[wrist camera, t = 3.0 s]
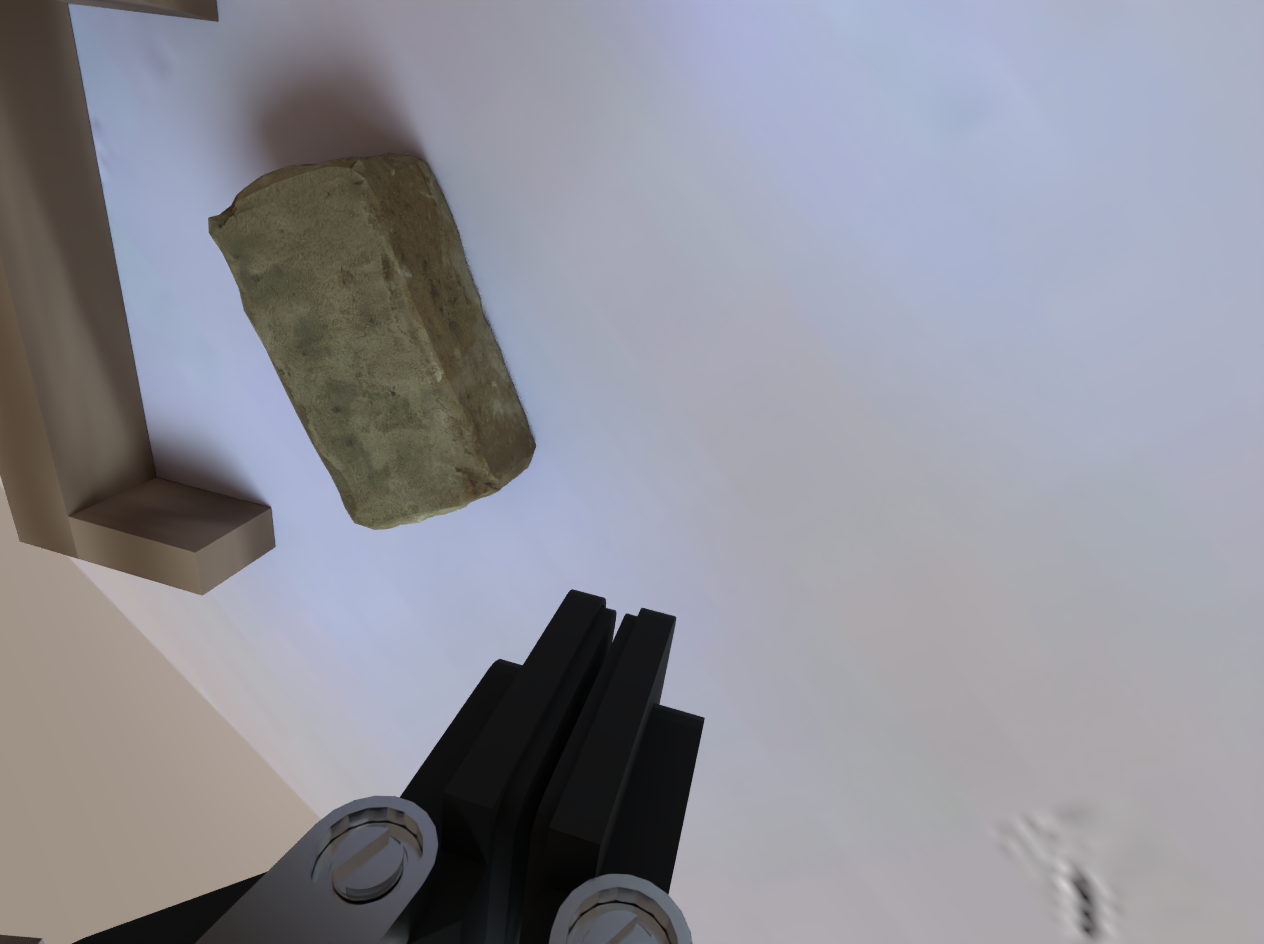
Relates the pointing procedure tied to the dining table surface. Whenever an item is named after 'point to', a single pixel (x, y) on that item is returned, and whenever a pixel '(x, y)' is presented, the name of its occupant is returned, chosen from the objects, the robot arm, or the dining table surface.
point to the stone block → (377, 334)
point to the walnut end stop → (85, 337)
